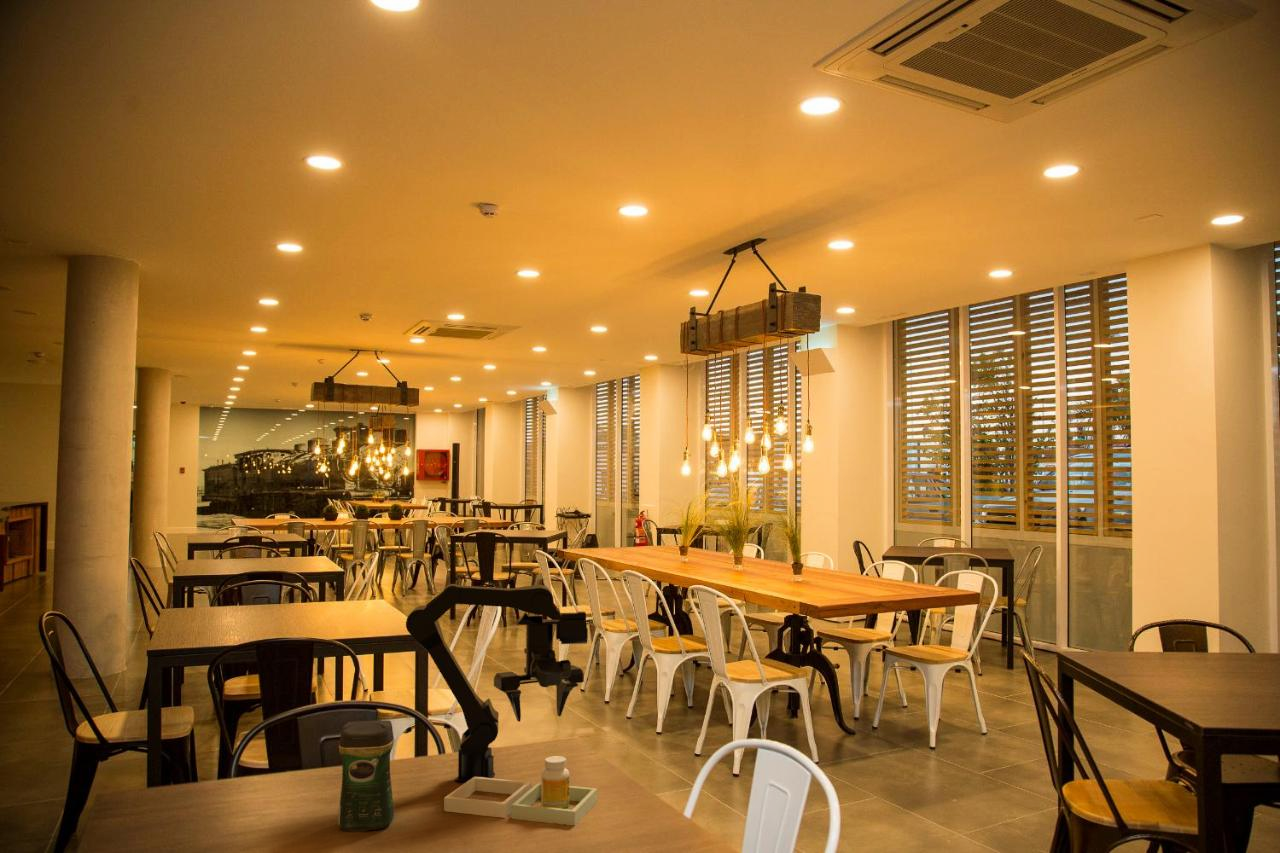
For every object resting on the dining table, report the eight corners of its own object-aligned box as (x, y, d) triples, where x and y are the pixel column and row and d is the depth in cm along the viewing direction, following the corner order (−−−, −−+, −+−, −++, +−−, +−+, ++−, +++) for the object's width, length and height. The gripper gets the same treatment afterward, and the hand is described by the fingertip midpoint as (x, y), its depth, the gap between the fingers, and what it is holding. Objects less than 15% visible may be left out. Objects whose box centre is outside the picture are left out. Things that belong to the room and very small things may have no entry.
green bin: (511, 818, 166) (511, 804, 167) (537, 795, 178) (537, 782, 179) (575, 825, 163) (575, 811, 163) (597, 801, 175) (597, 788, 175)
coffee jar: (396, 815, 168) (398, 715, 169) (388, 831, 160) (389, 726, 161) (344, 817, 167) (345, 716, 169) (333, 833, 160) (335, 728, 161)
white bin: (444, 811, 170) (444, 797, 170) (474, 789, 182) (474, 776, 182) (504, 817, 167) (504, 804, 167) (531, 794, 179) (531, 782, 179)
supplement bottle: (538, 807, 172) (538, 756, 173) (565, 803, 174) (565, 753, 175) (545, 816, 167) (545, 764, 168) (572, 813, 169) (572, 761, 170)
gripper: (510, 655, 181) (509, 733, 180) (594, 647, 189) (594, 722, 188) (493, 646, 191) (492, 720, 190) (573, 639, 199) (573, 710, 198)
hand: (539, 718), depth 191 cm, fingers open, 9 cm apart
